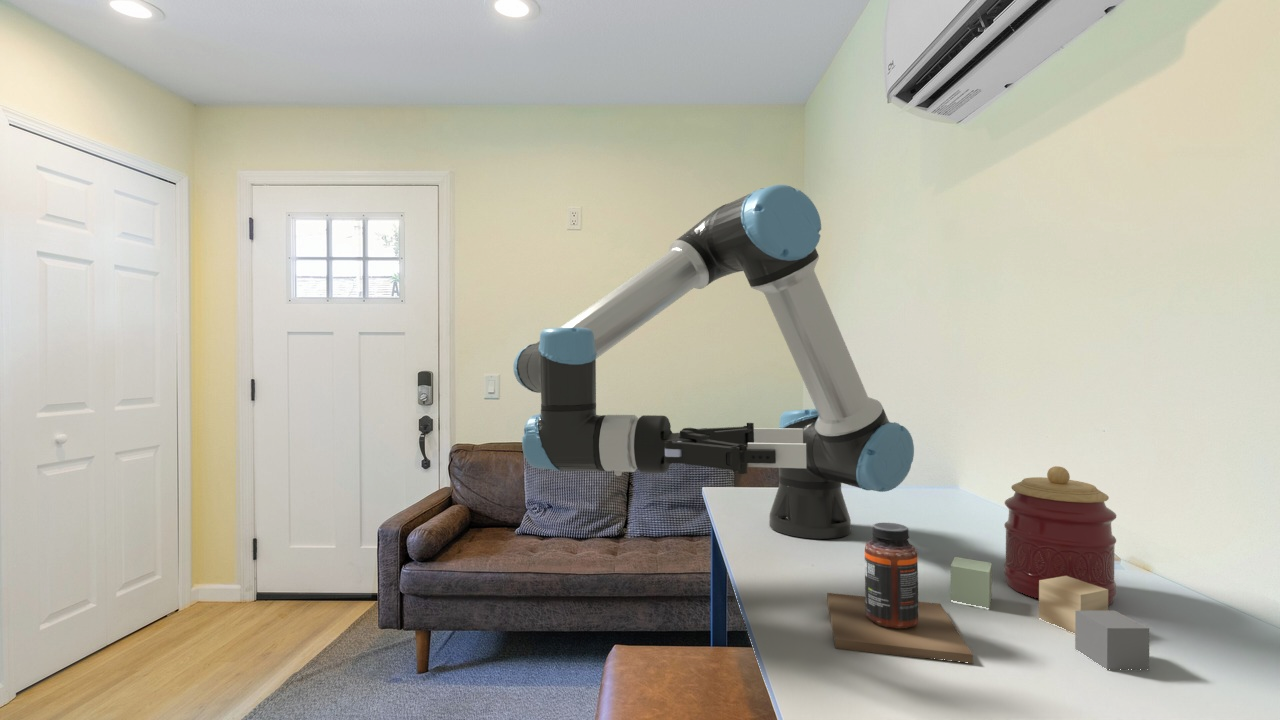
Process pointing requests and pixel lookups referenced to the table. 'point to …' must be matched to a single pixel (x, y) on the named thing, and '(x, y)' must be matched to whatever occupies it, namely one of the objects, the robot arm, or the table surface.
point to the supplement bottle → (891, 577)
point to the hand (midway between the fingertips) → (804, 446)
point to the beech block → (1069, 600)
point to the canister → (1058, 533)
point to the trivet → (896, 631)
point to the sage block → (971, 582)
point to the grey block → (1112, 640)
